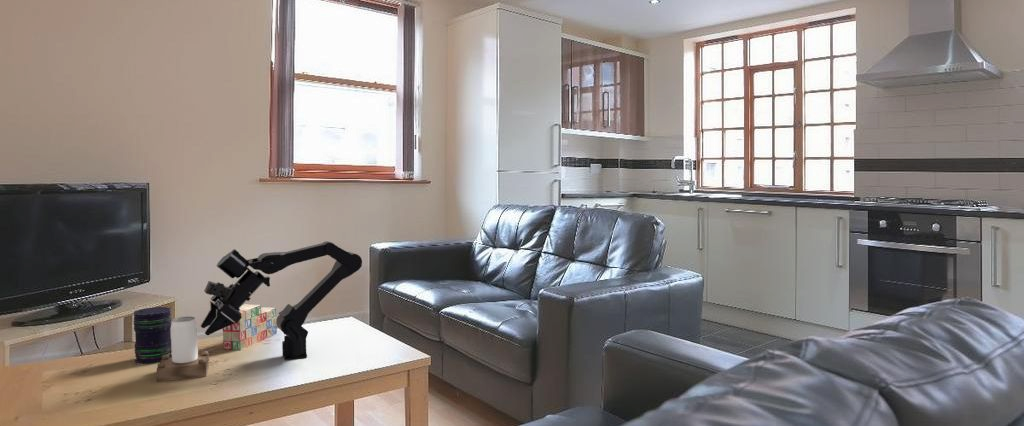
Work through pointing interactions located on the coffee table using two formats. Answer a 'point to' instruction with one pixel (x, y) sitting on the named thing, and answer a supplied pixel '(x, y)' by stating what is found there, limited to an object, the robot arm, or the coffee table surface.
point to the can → (184, 340)
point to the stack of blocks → (250, 327)
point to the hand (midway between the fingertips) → (203, 330)
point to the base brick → (182, 368)
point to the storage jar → (152, 334)
